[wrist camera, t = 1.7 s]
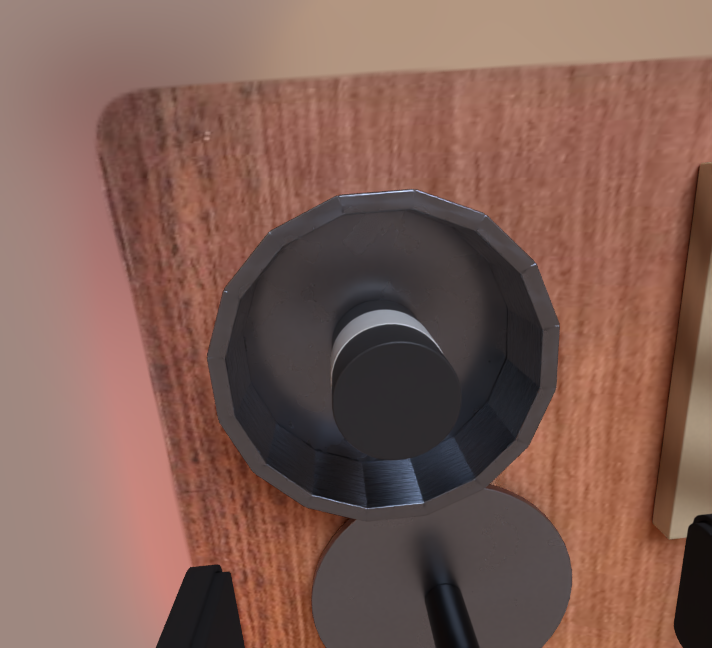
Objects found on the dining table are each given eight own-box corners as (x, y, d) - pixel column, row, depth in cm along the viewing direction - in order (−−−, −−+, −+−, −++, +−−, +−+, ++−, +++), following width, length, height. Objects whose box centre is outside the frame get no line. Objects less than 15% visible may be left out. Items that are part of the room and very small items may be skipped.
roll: (326, 303, 22) (324, 346, 16) (423, 294, 23) (463, 333, 16) (335, 393, 24) (336, 468, 17) (426, 384, 24) (464, 455, 17)
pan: (209, 206, 21) (178, 207, 17) (521, 181, 22) (568, 176, 17) (254, 479, 26) (238, 535, 21) (514, 453, 26) (550, 503, 22)
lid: (298, 487, 26) (288, 573, 20) (570, 460, 26) (639, 535, 20) (325, 689, 30) (323, 807, 24) (556, 662, 31) (610, 771, 25)
